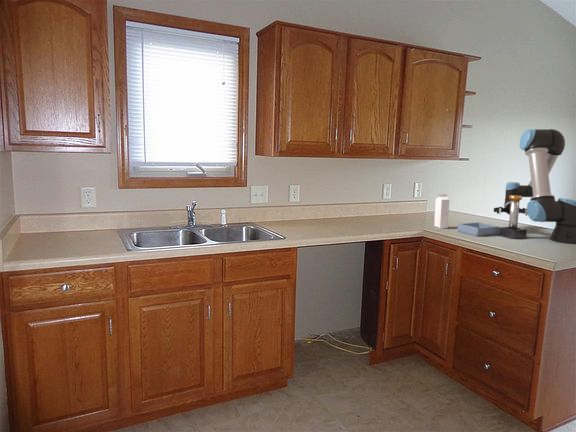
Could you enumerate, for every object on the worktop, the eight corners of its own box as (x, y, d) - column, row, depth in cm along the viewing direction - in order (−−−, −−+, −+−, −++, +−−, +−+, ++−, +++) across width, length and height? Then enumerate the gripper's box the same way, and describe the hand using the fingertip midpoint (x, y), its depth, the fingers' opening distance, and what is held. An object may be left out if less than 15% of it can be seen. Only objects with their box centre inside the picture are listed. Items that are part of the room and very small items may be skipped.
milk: (447, 228, 270) (450, 194, 267) (439, 229, 268) (442, 194, 265) (441, 226, 276) (443, 193, 272) (433, 227, 274) (435, 193, 270)
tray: (498, 234, 250) (499, 226, 249) (477, 236, 244) (477, 228, 244) (477, 230, 265) (478, 222, 264) (457, 231, 259) (458, 223, 258)
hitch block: (526, 237, 241) (526, 229, 240) (512, 239, 238) (513, 230, 237) (511, 234, 251) (512, 226, 250) (498, 235, 247) (499, 227, 246)
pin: (521, 237, 242) (524, 196, 239) (512, 238, 240) (516, 196, 237) (511, 235, 248) (515, 195, 245) (503, 236, 246) (506, 195, 242)
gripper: (534, 215, 257) (537, 220, 238) (489, 213, 268) (488, 217, 249) (535, 203, 256) (538, 207, 237) (489, 201, 267) (489, 205, 248)
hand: (513, 212), depth 243 cm, fingers open, 13 cm apart
